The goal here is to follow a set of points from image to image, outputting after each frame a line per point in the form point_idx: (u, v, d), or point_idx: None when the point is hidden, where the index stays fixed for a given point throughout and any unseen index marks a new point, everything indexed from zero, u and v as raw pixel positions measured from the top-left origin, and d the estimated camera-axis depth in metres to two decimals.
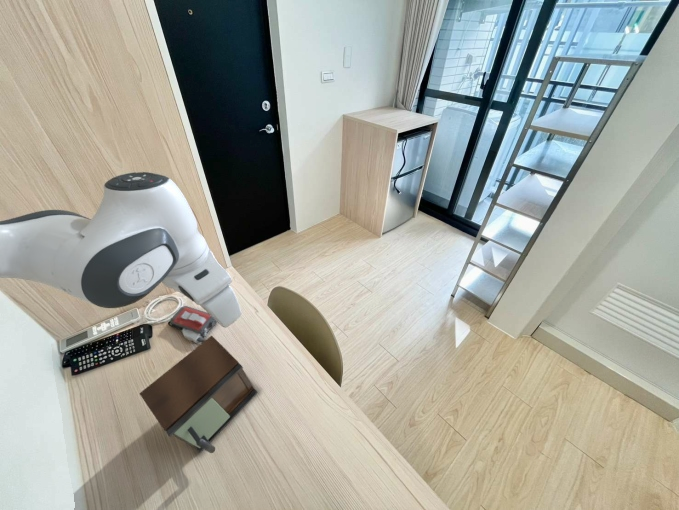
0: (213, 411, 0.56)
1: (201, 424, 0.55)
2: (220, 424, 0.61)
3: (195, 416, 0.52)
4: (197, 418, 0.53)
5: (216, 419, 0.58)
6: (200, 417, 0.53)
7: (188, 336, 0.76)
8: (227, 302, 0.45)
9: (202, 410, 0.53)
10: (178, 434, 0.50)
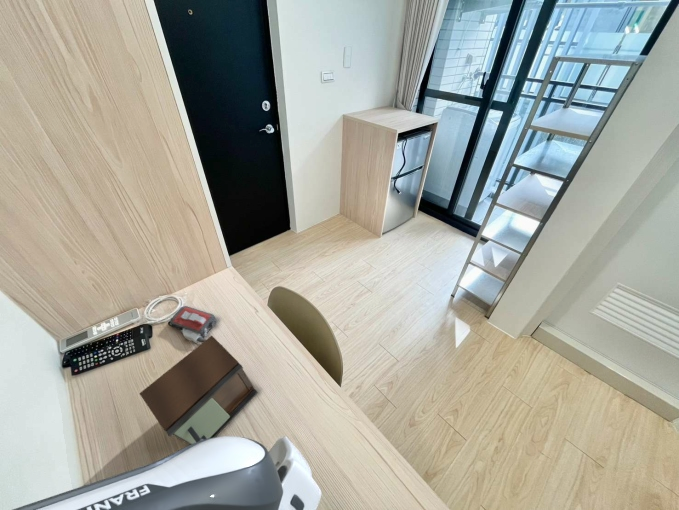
0: (213, 411, 0.56)
1: (201, 424, 0.55)
2: (220, 424, 0.61)
3: (195, 416, 0.52)
4: (197, 418, 0.53)
5: (216, 419, 0.58)
6: (200, 417, 0.53)
7: (188, 336, 0.76)
8: (299, 454, 0.38)
9: (202, 410, 0.53)
10: (178, 434, 0.50)
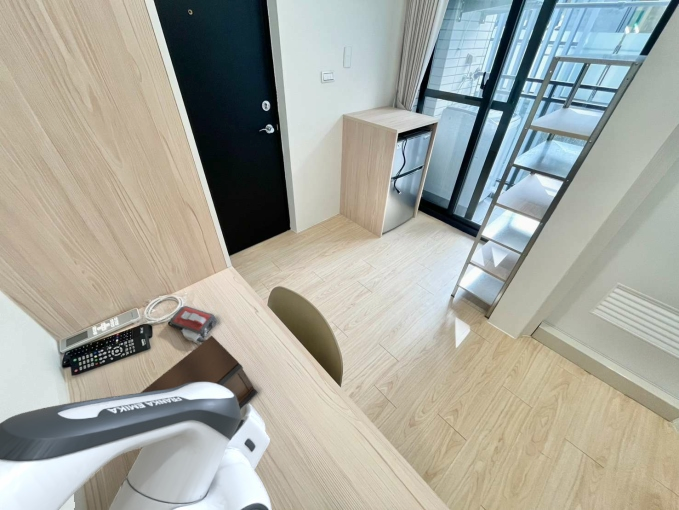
0: None
1: None
2: None
3: None
4: None
5: None
6: None
7: (188, 336, 0.76)
8: (256, 414, 0.51)
9: None
10: None
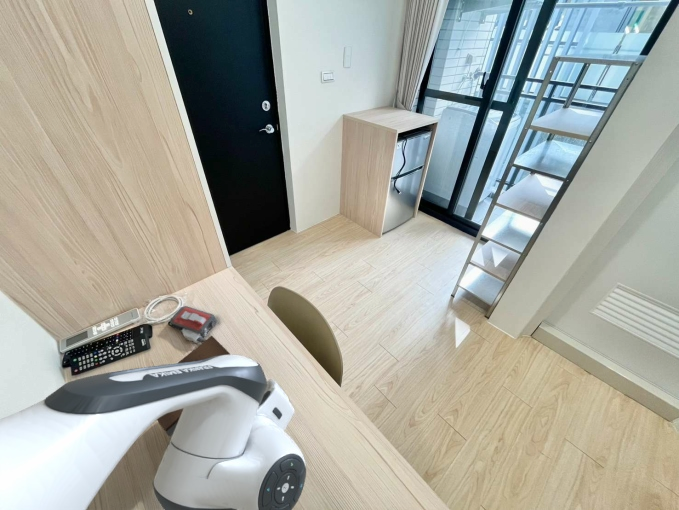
0: None
1: None
2: None
3: None
4: None
5: None
6: None
7: (188, 336, 0.76)
8: (280, 388, 0.54)
9: None
10: None
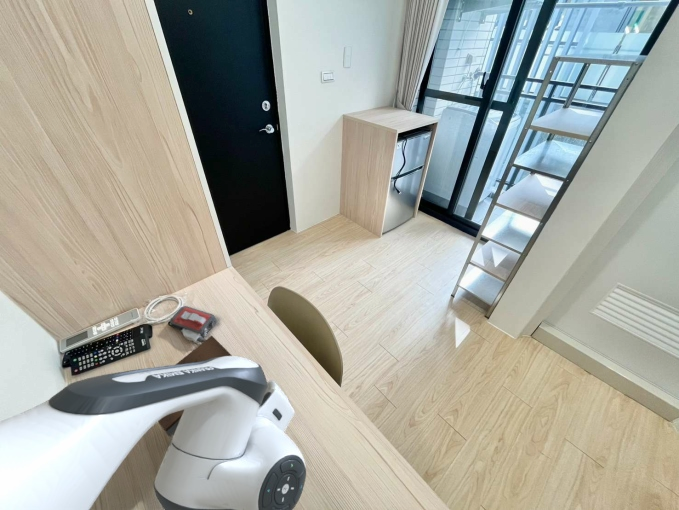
0: None
1: None
2: None
3: None
4: None
5: None
6: None
7: (188, 336, 0.76)
8: (280, 389, 0.54)
9: None
10: None
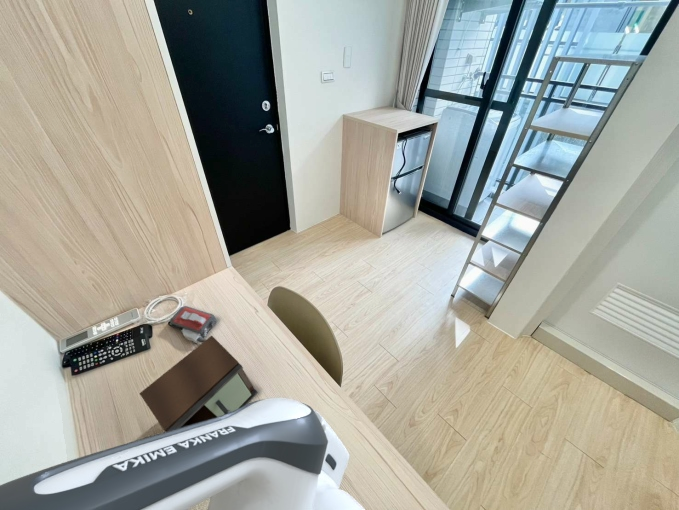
0: (238, 387, 0.60)
1: (227, 399, 0.58)
2: (242, 401, 0.64)
3: (222, 390, 0.55)
4: (224, 392, 0.56)
5: (239, 395, 0.62)
6: (227, 391, 0.57)
7: (188, 336, 0.76)
8: None
9: (229, 385, 0.56)
10: (207, 406, 0.54)
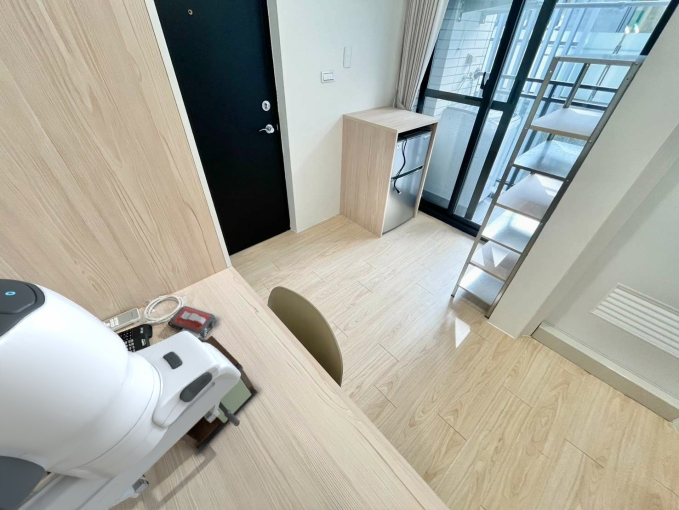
0: (238, 387, 0.60)
1: (227, 399, 0.58)
2: (242, 401, 0.64)
3: None
4: None
5: (239, 395, 0.62)
6: None
7: None
8: (217, 350, 0.32)
9: None
10: None
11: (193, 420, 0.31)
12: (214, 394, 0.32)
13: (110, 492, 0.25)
